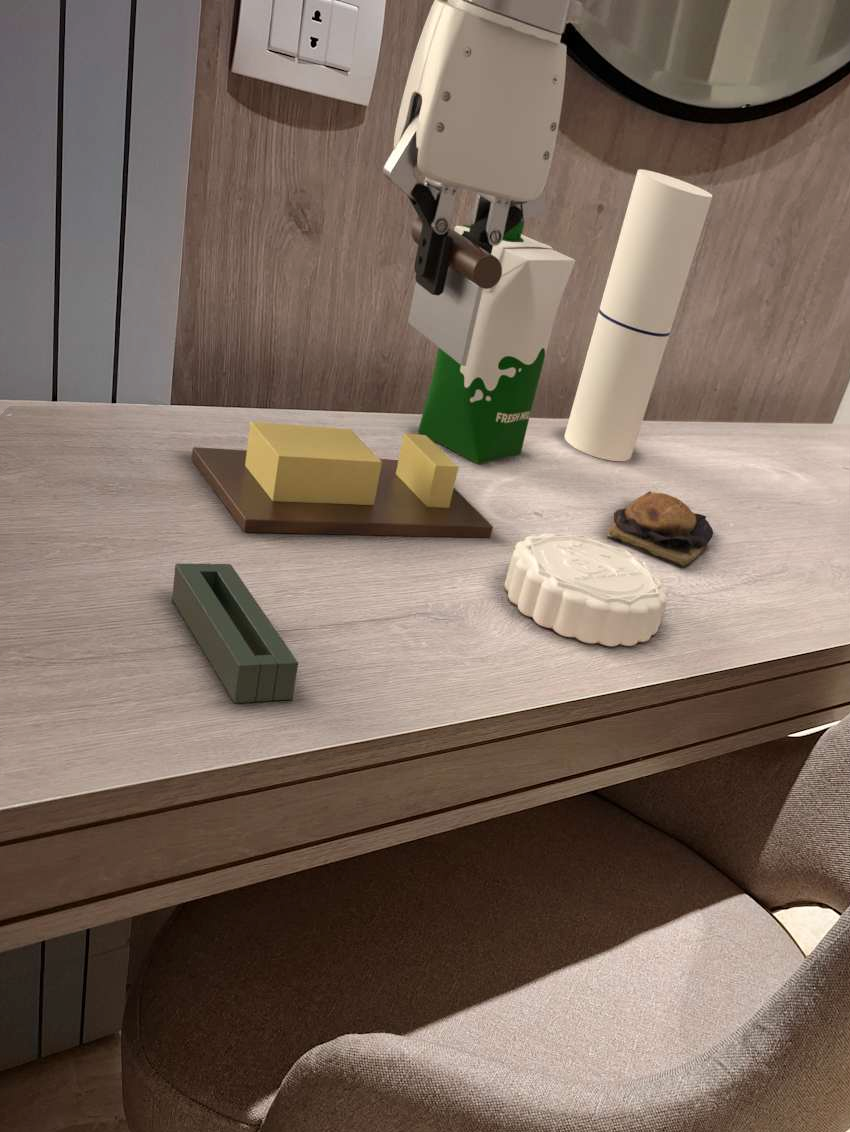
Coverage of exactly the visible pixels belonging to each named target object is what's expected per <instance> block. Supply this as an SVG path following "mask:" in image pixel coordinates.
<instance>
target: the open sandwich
mask: <svg viewBox="0 0 850 1132" xmlns="http://www.w3.org/2000/svg"><path fill="white" fill-rule="evenodd" d="M713 535H714V529H713V528H712V527H711V524H710V523H709V521H708V520H707V516H706V515H704V514H701V513H695V512H693V511H692V509H690V507H689V505H687V504H686V503H684V502H683V501H682V500H681V499H679V498H677V497H675V496H672V495H669V494H667V493H663V492H652V491H648V492H646V493H644V494H642V495H641V496H639V497H637V498H636V499H634V500H633V501H632V502H631V503H630V504H629V505H628V507H627V508H621V509H617V510H615V511H614V512H613V523H612V524H611V526H610V528H609V529H608V531H607V533H606V537H607V538H608V537H611V538H614V539H619V540H621V541H622V542H623V543H627V544H631V545H633V546H636V547H638V548H642V549H643V550H646V551H648V553H651V554H653V555H654V556H658V557H661V558H663V559H667V560H669V561H671V562H674V563H676V564H679V565H680V566H682V567H685V566H686V565H688V564H691V563H692V562H693V561H694V560H696V559H697V558H698V557H699V556H700V555H701V554H702V552H703V551H704V549H705V548H707V546H708V543H710V541H711V539H712V538H713Z"/></svg>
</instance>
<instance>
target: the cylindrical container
mask: <svg viewBox="0 0 850 1132" xmlns="http://www.w3.org/2000/svg"><path fill="white" fill-rule="evenodd" d="M712 199H713V194H711V192H708V191H707V190H705V189H703V188H701V187H699V186H696V185H694V184H692V183H689V182H687V181H684V180H682V179H678V178H675V177H673V176H670V175H666V174H663V173H659V172H655V171H653V170H648V169H637V172H636V175H635V180H634V183H633V185H632V189H631V193H630V197H629V200H628V203H627V208H626V212H625V216H624V219H623V222H622V225H621V230H620V233H619V237H618V241H617V244H616V248H615V251H614V255H613V259H612V262H611V266H610V270H609V274H608V277H607V281H606V284H605V287H604V291H603V295H602V298H601V302H600V306H599V310H598V312H597V316H596V320H595V324H594V328H593V332H592V334H591V339H590V342H589V345H588V349H587V352H586V357H585V360H584V362H583V363H584V364H583V367H582V371H581V375H580V378H579V382H578V385H577V389H576V393H575V396H574V400H573V403H572V407H571V409H570V410H571V411H570V414H569V417H568V422H567V425H566V429H565V433H564V437H563V438H564V440H565V441H566V442H567V444H569V445H570V446H571V447H572V448H575V449H576V450H577V451H580V452H582V453H584V454H586V455H588V456H591V457H595V458H598V459H602V460H606V461H612V462H626V461H629V460H631V459H632V456H633V453H634V450H635V447H636V443H637V440H638V437H639V434H640V431H641V427H642V424H643V421H644V417H645V414H646V411H647V409H648V405H649V402H650V398H651V396H652V392H653V389H654V386H655V382H656V380H657V376H658V373H659V369H660V365H661V363H662V359H663V356H664V354H665V350H666V347H667V343H668V341H669V338H670V334H671V330H672V328H673V324H674V321H675V318H676V315H677V312H678V309H679V305H680V302H681V298H682V296H683V292H684V289H685V287H686V283H687V280H688V276H689V273H690V270H691V266H692V264H693V260H694V257H695V254H696V250H697V249H698V244H699V241H700V237H701V235H702V231H703V228H704V225H705V222H706V219H707V215H708V212H709V209H710V205H711V204H712V203H711V202H712Z"/></svg>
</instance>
